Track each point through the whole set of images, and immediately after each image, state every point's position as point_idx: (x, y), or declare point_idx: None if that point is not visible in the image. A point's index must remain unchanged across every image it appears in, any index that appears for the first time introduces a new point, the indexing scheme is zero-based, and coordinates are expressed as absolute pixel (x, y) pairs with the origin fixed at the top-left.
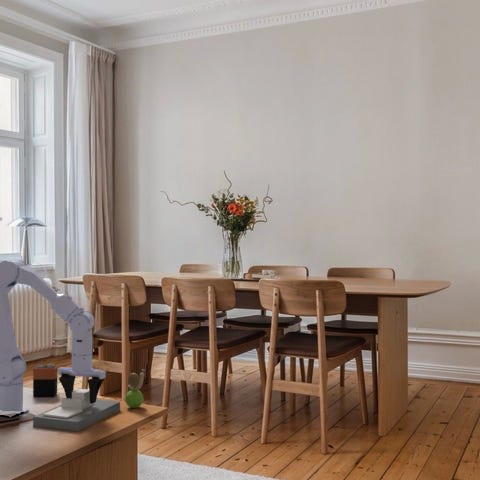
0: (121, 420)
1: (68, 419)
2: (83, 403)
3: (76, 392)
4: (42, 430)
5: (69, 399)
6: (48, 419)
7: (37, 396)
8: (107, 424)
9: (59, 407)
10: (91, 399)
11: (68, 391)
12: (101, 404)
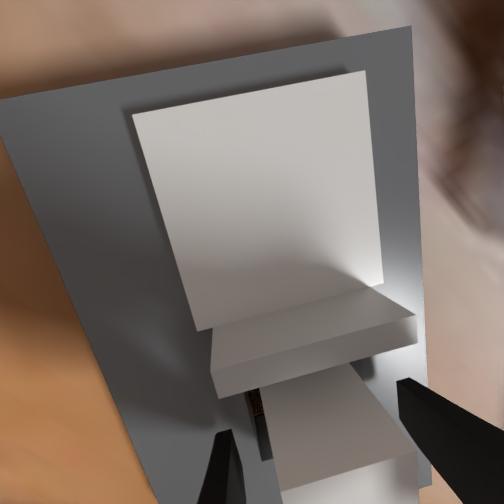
0: (38, 417)
1: (118, 116)
2: (266, 401)
3: (367, 463)
4: (253, 18)
5: (335, 337)
6: (274, 56)
7: None
8: (33, 329)
9: (376, 274)
10: (212, 461)
11: (464, 446)
12: None
